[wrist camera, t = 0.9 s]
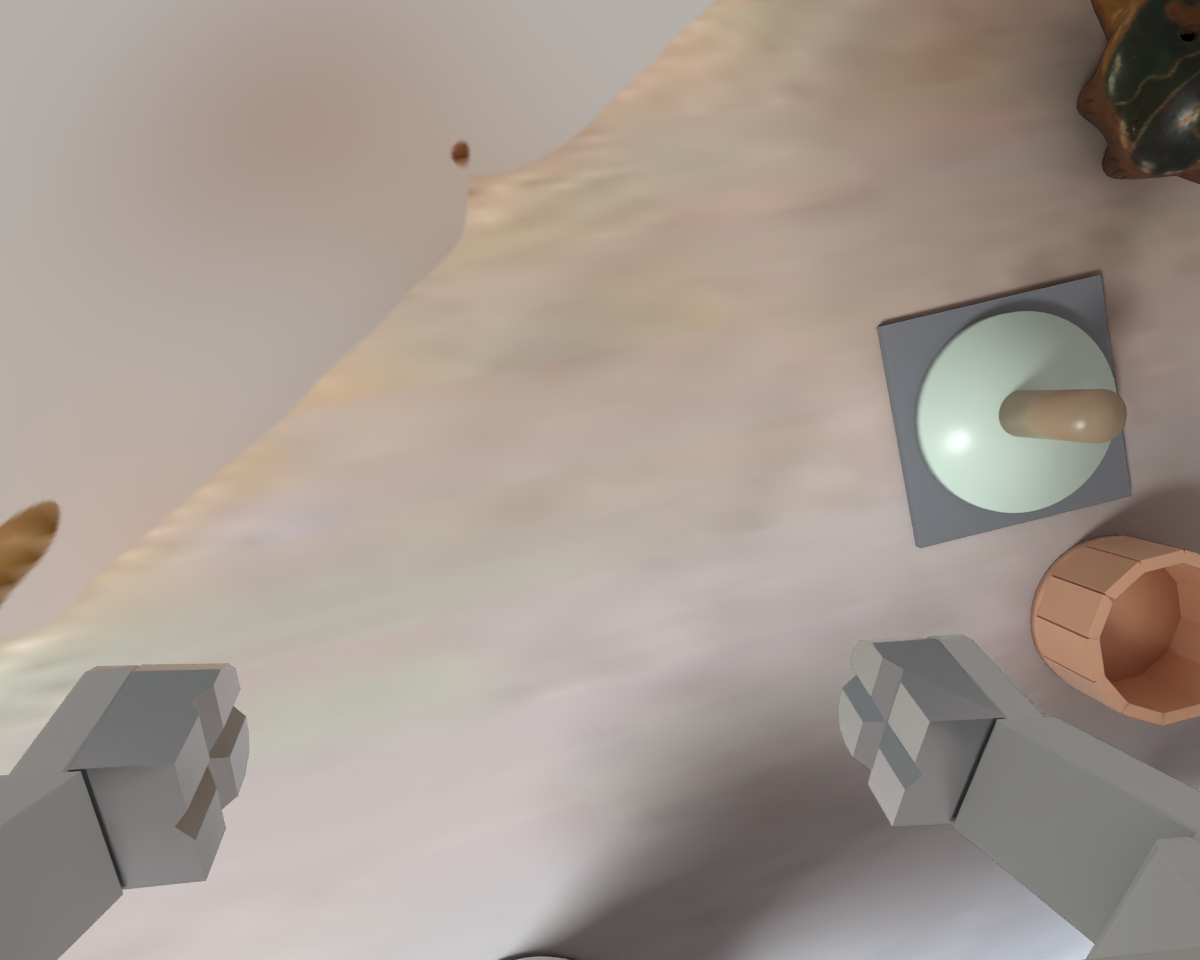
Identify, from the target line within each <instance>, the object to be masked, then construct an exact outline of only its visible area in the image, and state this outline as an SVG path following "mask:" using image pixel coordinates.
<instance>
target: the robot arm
mask: <svg viewBox="0 0 1200 960" xmlns="http://www.w3.org/2000/svg"><path fill="white" fill-rule="evenodd" d="M849 664H850V666H851V667H852V669H853V671H854V673H855V674H856V676H855V677H854V678H853V679H852V680H851V681H850V682H849V683H847V684H846V685H845V686H844V687H843V688H842V692H841V696H840V700H839V705H838V715H839V727H840V730H841V733H842V737H843V740H844V743H845V744H846V746H847V748H848V750H849V752H850V754H851V755H852V757H853V758H854V759H856V760H857V761H859V762H860V763H862V764H863V765H864V766H866V767H867V768H869V769H870V770H871V771H870V776H869V781H868V785H869V787H870V789H871V791H872V792H873V794H874V796H875V798H876V799H877V801H878V803H879V805H880V806H881V808H882V810H883V811H884V813H885V815H886V817H887V818H888V820H889V822H890V824H891V825H892V827H894V826H915V825H935V824H954V825H953V828H955V829H956V830H957V831H958V832H960V833H961V834H962V835H963V836H964V837H966V838H967V839H968V840H969V841H970V842H972V843H973V844H974V845H975V846H977V847H978V848H979V849H980V850H981V851H983V852H984V853H985V854H986V855H987V856H989V857H990V858H991V859H992V860H994V861H995V862H996V863H997V864H998V865H1000V866H1001V867H1002V868H1003V869H1004V870H1006V871H1007V872H1008V873H1009V874H1011V875H1012V876H1013V877H1014V878H1015V879H1017V880H1018V881H1019V882H1020V883H1021V884H1023V885H1024V886H1025V887H1026V888H1028V889H1029V890H1030V891H1031V892H1032V893H1034V894H1035V895H1036V896H1037V897H1038V898H1040V899H1041V900H1042V901H1043V902H1045V903H1046V904H1047V905H1048V906H1049V907H1051V908H1052V909H1053V910H1054V911H1055V912H1057V913H1058V914H1059V915H1060V916H1062V917H1063V918H1064V919H1065V920H1066V921H1068V922H1069V923H1070V924H1071V925H1072V926H1074V927H1075V928H1076V929H1077V930H1079V931H1080V932H1081V933H1082V934H1083V935H1085V936H1086V937H1087V938H1088V939H1089V940H1091V941H1092V942H1093V943H1094V944H1095V945H1094V946H1093V948H1092V950H1091V951H1090V953H1089V955H1088V956H1087V958H1086V960H1200V792H1199V791H1198V790H1196V789H1194V788H1192V787H1190V786H1188V785H1186V784H1184V783H1182V782H1180V781H1178V780H1176V779H1174V778H1172V777H1171V776H1169V775H1167V774H1165V773H1163V772H1161V771H1159V770H1157V769H1155V768H1153V767H1151V766H1149V765H1147V764H1145V763H1143V762H1142V761H1140V760H1138V759H1136V758H1134V757H1132V756H1130V755H1128V754H1126V753H1124V752H1122V751H1120V750H1118V749H1116V748H1115V747H1113V746H1111V745H1109V744H1107V743H1105V742H1103V741H1101V740H1099V739H1097V738H1095V737H1093V736H1091V735H1089V734H1088V733H1086V732H1084V731H1082V730H1080V729H1078V728H1076V727H1074V726H1072V725H1070V724H1068V723H1066V722H1064V721H1062V720H1061V719H1059V718H1057V717H1044V716H1043V715H1042V714H1041V713H1040V712H1039V711H1038V710H1037V709H1036V708H1035V706H1034V705H1033V704H1032V703H1031V702H1030V701H1029V700H1028V699H1027V698H1026V697H1025V696H1024V695H1023V694H1022V693H1021V691H1020V690H1019V689H1018V688H1017V687H1016V686H1015V685H1014V684H1013V683H1012V682H1011V681H1010V680H1009V679H1008V678H1007V676H1006V675H1005V674H1004V673H1003V672H1002V671H1001V670H1000V669H999V668H998V667H997V666H996V665H995V664H994V663H993V661H992V660H991V659H990V658H989V657H988V656H987V655H986V654H985V653H984V652H983V651H982V650H981V649H980V648H979V646H978V645H977V644H976V643H975V642H974V641H973V640H971V639H969V638H967V637H965V636H963V635H950V636H933V637H927V638H908V639H885V640H862V641H860V642H859V643H858V644H857V645H856V647H855V648H854V649H853V653H852V656H851V659H850V663H849ZM239 691H240V685H239V681H238V677H237V673H236V668H235V667H233V666H232V665H230V664H229V663H224V664H157V665H141V666H96V667H94V668H93V669H91V670H89V671H87V672H85V673H84V674H83V675H82V677H81V678H80V679H79V681H78V682H77V683H76V685H75V686H74V687H73V689H72V690H71V691H70V693H69V694H68V695H67V697H66V698H65V700H64V701H63V702H62V704H61V705H60V706H59V708H58V709H57V710H56V712H55V713H54V714H53V716H52V717H51V718H50V720H49V721H48V723H47V724H46V725H45V727H44V728H43V729H42V731H41V732H40V733H39V735H38V736H37V737H36V739H35V740H34V741H33V743H32V744H31V746H30V747H29V748H28V750H27V751H26V752H25V754H24V755H23V756H22V758H21V759H20V760H19V762H18V763H17V764H16V766H15V767H14V768H13V770H12V771H11V773H10V774H9V775H3V776H0V960H57V959H58V958H59V957H60V956H61V955H62V954H63V953H64V952H65V951H66V950H67V949H68V948H69V947H70V946H71V945H72V944H73V943H74V942H75V941H76V940H77V939H78V938H80V937H81V936H82V935H83V934H84V933H85V932H86V931H87V930H88V929H89V928H90V927H91V926H92V925H93V924H94V923H95V922H96V921H97V920H98V919H99V918H100V917H101V916H102V915H103V914H104V913H105V912H106V911H107V910H108V909H109V908H110V907H111V906H112V905H113V904H114V903H115V902H116V901H117V900H118V899H119V898H120V897H121V896H122V895H123V891H122V890H123V889H132V888H141V887H151V886H160V885H170V884H179V883H189V882H198V881H206V879H207V877H208V874H209V871H210V869H211V866H212V863H213V861H214V858H215V856H216V853H217V850H218V848H219V845H220V842H221V840H222V837H223V834H224V832H225V829H226V827H225V823H224V818H223V814H222V809H223V808H224V807H225V806H226V805H228V804H229V803H230V802H231V801H232V800H234V799H235V798H236V797H237V796H238V794H239V791H240V788H241V786H242V783H243V780H244V777H245V773H246V767H247V761H248V755H249V730H248V725H247V719H246V716H245V715H244V714H242V713H241V712H240V711H239V710H238V709H236V708H235V707H234V706H233V705H234V703H235V701H236V698H237V696H238V693H239ZM517 960H568V959H564V958H558V957H544V956H541V957H527V958H521V959H517Z"/></svg>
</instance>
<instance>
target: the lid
mask: <svg viewBox="0 0 1200 960" xmlns="http://www.w3.org/2000/svg"><path fill="white" fill-rule="evenodd" d="M1126 416H1127V412H1126V406H1125V403H1124V401H1123V400H1122V398H1121V397H1120V396H1119V395H1118V394H1117V393H1116V387H1115V382H1114V378H1113V375H1112V372H1111V369H1110V366H1109V364H1108V362H1107V360H1106V358H1105V356H1104V354H1103V353H1102V351H1101V350H1100V348H1099V347H1098V346H1097V344H1096V343H1095V342H1094V341H1093V340H1092V339H1091V338H1090V337H1089V335H1088V334H1086V333H1085V332H1084V331H1083V330H1081V329H1080V328H1079V327H1078V326H1076V325H1074V324H1073V323H1071V322H1069V321H1068V320H1065V319H1063V318H1060V317H1058V316H1055V315H1052V314H1048V313H1044V312H1035V311H1018V312H1012V313H1006V314H1000V315H995V316H991V317H988V318H985V319H982V320H979V321H977V322H975V323H973V324H971V325H969V326H967V327H966V328H964V329H963V330H961V331H959V332H958V333H957V334H956V335H954V336H953V337H952V338H951V339H950V340H948V341H947V342H946V344H945V345H944V346H943V347H942V348H941V349H940V350H939V351H938V353H937V354H936V355H935V357H934V358H933V359H932V361H931V363H930V364H929V366H928V368H927V370H926V371H925V374H924V376H923V378H922V381H921V383H920V386H919V390H918V394H917V397H916V404H915V417H914V424H915V433H916V439H917V443H918V447H919V450H920V453H921V455H922V458H923V460H924V462H925V464H926V466H927V467H928V469H929V471H930V472H931V474H932V475H933V476H934V478H935V479H936V480H937V481H938V482H939V483H940V484H941V485H942V486H943V487H944V488H945V489H946V490H947V491H948V492H950V493H951V494H952V495H954V496H955V497H957V498H959V499H960V500H962V501H964V502H966V503H969V504H971V505H974V506H977V507H981V508H984V509H988V510H993V511H997V512H1005V513H1024V512H1030V511H1035V510H1039V509H1042V508H1045V507H1048V506H1050V505H1053V504H1055V503H1057V502H1059V501H1061V500H1063V499H1064V498H1066V497H1067V496H1069V495H1071V494H1072V493H1073V492H1074V491H1076V490H1077V489H1078V488H1079V487H1081V486H1082V485H1083V484H1084V483H1085V482H1086V480H1087V479H1088V478H1089V477H1090V476H1091V475H1092V474H1093V472H1094V471H1095V470H1096V468H1097V467H1098V466H1099V464H1100V462H1101V461H1102V459H1103V457H1104V456H1105V454H1106V451H1107V449H1108V447H1109V444H1110V442H1111V440H1112V439H1114V438H1115V437H1116V436H1117V435H1118V434H1119V433H1120V432H1121V431H1122V429H1123V427H1124V425H1125V422H1126Z"/></svg>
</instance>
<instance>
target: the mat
mask: <svg viewBox="0 0 1200 960" xmlns="http://www.w3.org/2000/svg"><path fill="white" fill-rule="evenodd" d="M1018 311H1035V312H1044V313H1048V314H1052V315H1055V316H1058V317H1060V318H1063V319H1065V320H1068V321H1069V322H1071V323H1073V324H1074V325H1076V326H1078V327H1079V328H1080V329H1081V330H1083V331H1084V332H1085V333H1086V334H1088V335H1089V337H1090V338H1091V339H1092V340H1093V341H1094V342H1095V343H1096V344H1097V346H1098V347H1099V348H1100V350H1101V351H1102V353H1103V354H1104V356H1105V358H1106V360H1107V362H1108V364H1109V366H1110V369H1111V372H1112V375H1113V378H1114V382H1115V387H1116V381H1115V374H1114V366H1113V359H1112V352H1111V345H1110V337H1109V330H1108V323H1107V315H1106V308H1105V301H1104V294H1103V286H1102V279H1101V275H1097V276H1092V277H1088V278H1084V279H1079V280H1075V281H1071V282H1067V283H1063V284H1058V285H1054V286H1050V287H1046V288H1041V289H1037V290H1033V291H1029V292H1024V293H1020V294H1016V295H1012V296H1007V297H1003V298H999V299H995V300H990V301H986V302H982V303H978V304H973V305H969V306H965V307H961V308H956V309H952V310H948V311H944V312H939V313H935V314H931V315H927V316H922V317H918V318H914V319H910V320H905V321H901V322H897V323H893V324H888V325H884V326H880V327H877V330H878V336H879V341H880V347H881V353H882V358H883V364H884V369H885V375H886V381H887V386H888V392H889V397H890V403H891V409H892V414H893V420H894V425H895V431H896V436H897V442H898V448H899V453H900V459H901V464H902V470H903V476H904V481H905V487H906V492H907V498H908V504H909V509H910V515H911V520H912V526H913V531H914V537H915V543H916V546H917V547H919V548H923V547H927V546H931V545H935V544H939V543H943V542H947V541H951V540H955V539H959V538H963V537H967V536H971V535H975V534H979V533H983V532H987V531H991V530H995V529H999V528H1003V527H1007V526H1011V525H1015V524H1019V523H1023V522H1028V521H1032V520H1036V519H1040V518H1044V517H1048V516H1052V515H1056V514H1060V513H1064V512H1068V511H1072V510H1076V509H1080V508H1084V507H1088V506H1092V505H1096V504H1100V503H1104V502H1108V501H1112V500H1116V499H1120V498H1124V497H1128V496H1131V490H1130V483H1129V475H1128V468H1127V461H1126V454H1125V446H1124V439H1123V432H1122V431H1121V432H1120V433H1119V434H1118V435H1117V436H1116V437H1115V438H1114V439H1112V440H1111V442H1110V444H1109V447H1108V449H1107V451H1106V454H1105V456H1104V457H1103V459H1102V461H1101V462H1100V464H1099V466H1098V467H1097V468H1096V470H1095V471H1094V472H1093V474H1092V475H1091V476H1090V477H1089V478H1088V479H1087V480H1086V482H1085V483H1084V484H1083V485H1082V486H1081V487H1079V488H1078V489H1077V490H1076V491H1074V492H1073V493H1072V494H1071V495H1069V496H1067V497H1066V498H1064V499H1063V500H1061V501H1059V502H1057V503H1055V504H1053V505H1050V506H1048V507H1045V508H1042V509H1039V510H1035V511H1030V512H1024V513H1005V512H997V511H993V510H988V509H984V508H981V507H977V506H974V505H971V504H969V503H966V502H964V501H962V500H960V499H959V498H957V497H955V496H954V495H952V494H951V493H950V492H948V491H947V490H946V489H945V488H944V487H943V486H942V485H941V484H940V483H939V482H938V481H937V480H936V479H935V478H934V476H933V475H932V474H931V472H930V471H929V469H928V467H927V466H926V464H925V462H924V460H923V458H922V455H921V453H920V450H919V447H918V443H917V439H916V433H915V424H914V417H915V404H916V397H917V394H918V390H919V386H920V383H921V381H922V378H923V376H924V374H925V371H926V370H927V368H928V366H929V364H930V363H931V361H932V359H933V358H934V357H935V355H936V354H937V353H938V351H939V350H940V349H941V348H942V347H943V346H944V345H945V344H946V342H947V341H948V340H950V339H951V338H952V337H953V336H954V335H956V334H957V333H958V332H959V331H961V330H963V329H964V328H966V327H967V326H969V325H971V324H973V323H975V322H977V321H979V320H982V319H985V318H988V317H991V316H995V315H1000V314H1006V313H1012V312H1018ZM1116 393H1117V388H1116Z"/></svg>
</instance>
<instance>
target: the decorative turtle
mask: <svg viewBox="0 0 1200 960" xmlns="http://www.w3.org/2000/svg"><path fill="white" fill-rule="evenodd" d="M1091 2H1092V6H1093V8H1094V11H1095V13H1096V15H1097V17H1098V19H1099V22H1100V24H1101V27H1102V29H1103V31H1104V33H1105V35H1106V38H1107V42H1108V43H1107V46H1106V48H1105V50H1104V52H1103V55H1102V57H1101V60H1100V62H1099V65H1098V69H1097V72H1096V74H1095V76H1094V77H1093V78H1092V79H1091V81H1090V82H1089V83H1088V84H1087V85H1086V86H1085V87H1084V88H1083V90H1082V92H1081V93H1080V95H1079V96H1078V101H1077V110H1078V111H1079V113H1080V114H1081V115H1082V116H1083V117H1084V118H1085V119H1086V120H1088V121H1089V122H1090V123H1092V124H1093V125H1094V126H1095V127H1096V128H1098V129H1099V130H1100V131H1101V133H1102V134H1103V136H1104V137H1105V139H1106V140H1107V142H1108V144H1109V147H1108V149H1107V151H1106V154H1105V156H1104V158H1103V162H1102V166H1103V171H1104V172H1105V173H1106V175H1107V176H1109V177H1112V178H1115V179H1140V178H1158V177H1167V176H1179V177H1182V178H1184V179H1187V180H1189V181H1192V182H1195V183H1198V184H1200V0H1091Z"/></svg>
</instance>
